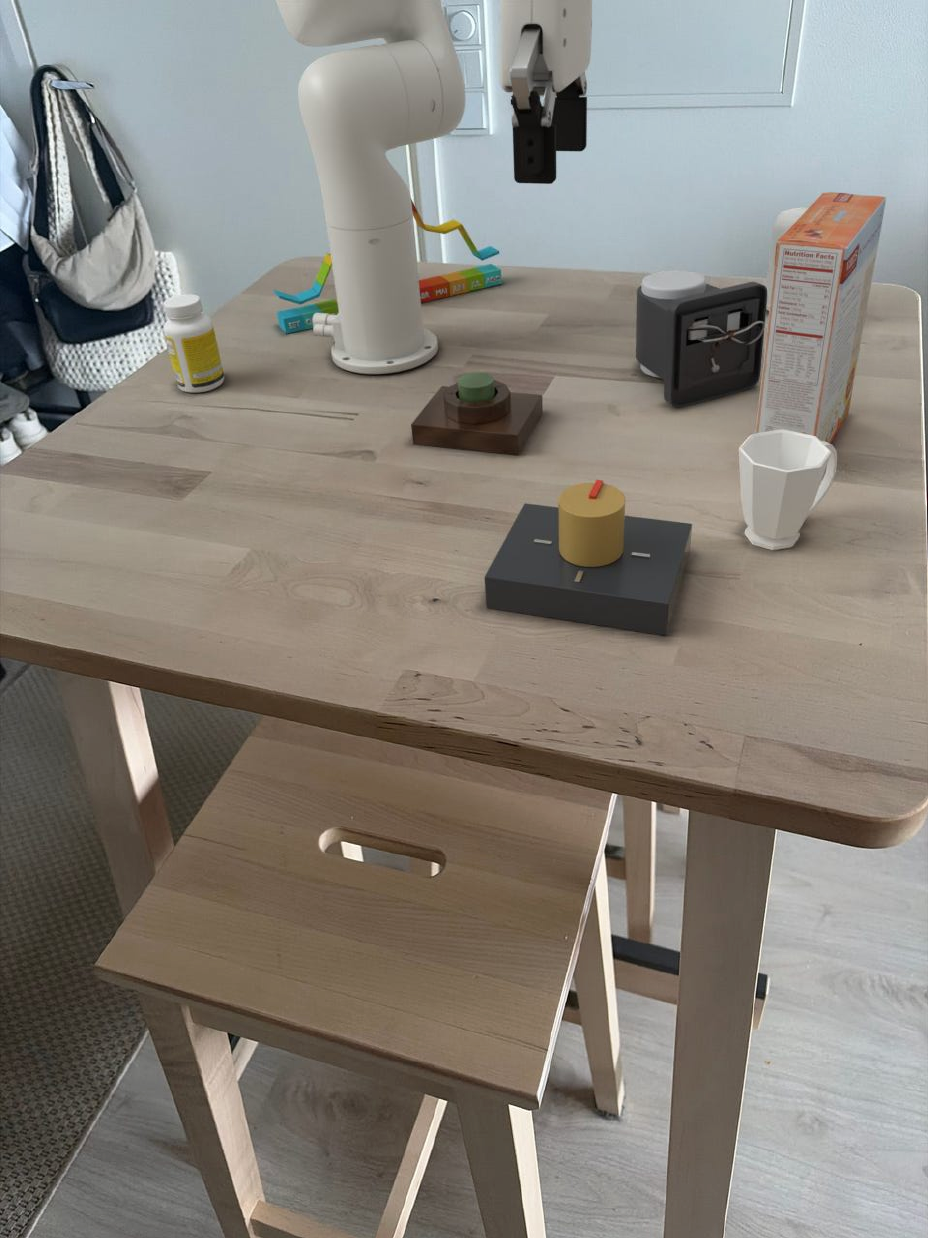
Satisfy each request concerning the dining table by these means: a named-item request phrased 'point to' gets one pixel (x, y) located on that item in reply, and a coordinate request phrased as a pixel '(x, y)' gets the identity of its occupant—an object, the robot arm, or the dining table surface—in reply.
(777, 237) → the photo printer
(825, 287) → the cracker box
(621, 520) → the dimmer
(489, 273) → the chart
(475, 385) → the switch
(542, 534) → the dimmer panel
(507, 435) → the lamp base
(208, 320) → the supplement bottle
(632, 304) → the dining table surface
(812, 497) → the cup
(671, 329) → the light fixture
